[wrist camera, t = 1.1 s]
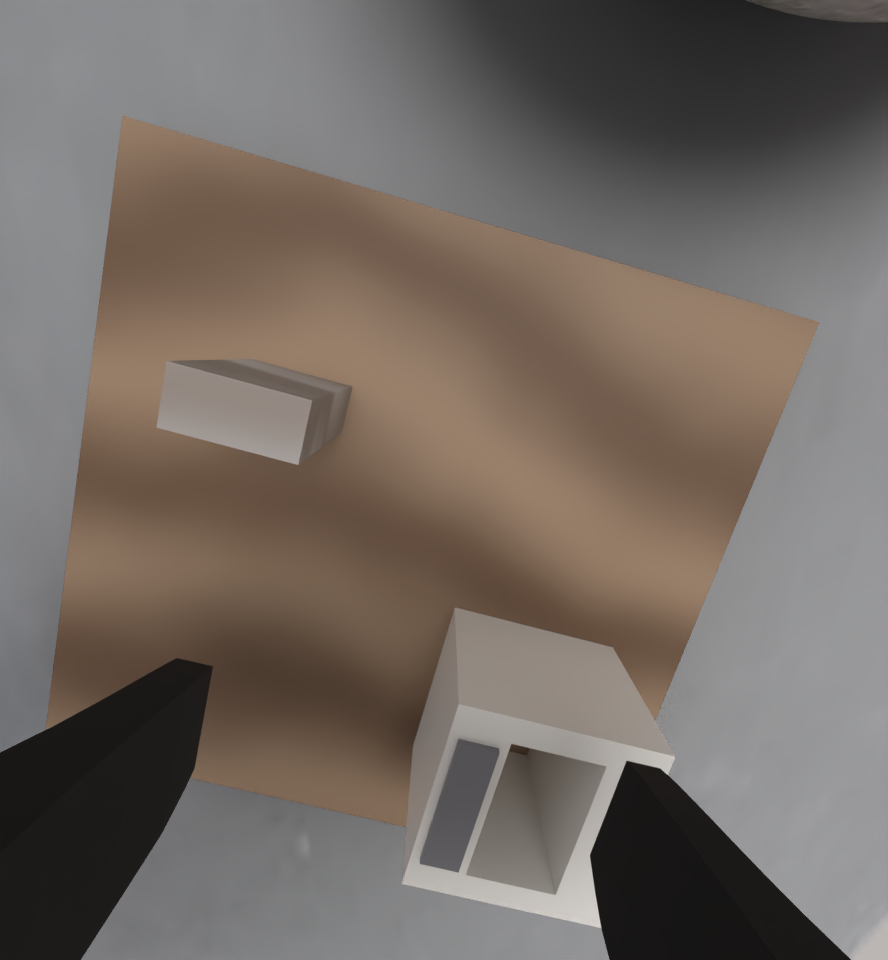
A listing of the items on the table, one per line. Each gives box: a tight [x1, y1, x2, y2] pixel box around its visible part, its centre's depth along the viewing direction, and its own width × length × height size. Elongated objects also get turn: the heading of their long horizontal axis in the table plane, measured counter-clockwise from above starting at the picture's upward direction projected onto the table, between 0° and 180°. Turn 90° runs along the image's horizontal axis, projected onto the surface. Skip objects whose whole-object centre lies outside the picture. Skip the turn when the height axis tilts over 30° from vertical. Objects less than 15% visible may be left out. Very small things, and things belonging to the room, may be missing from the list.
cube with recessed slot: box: [402, 608, 676, 928], centre depth 16 cm, size 5×5×5 cm
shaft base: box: [46, 116, 819, 827], centre depth 15 cm, size 20×20×6 cm
